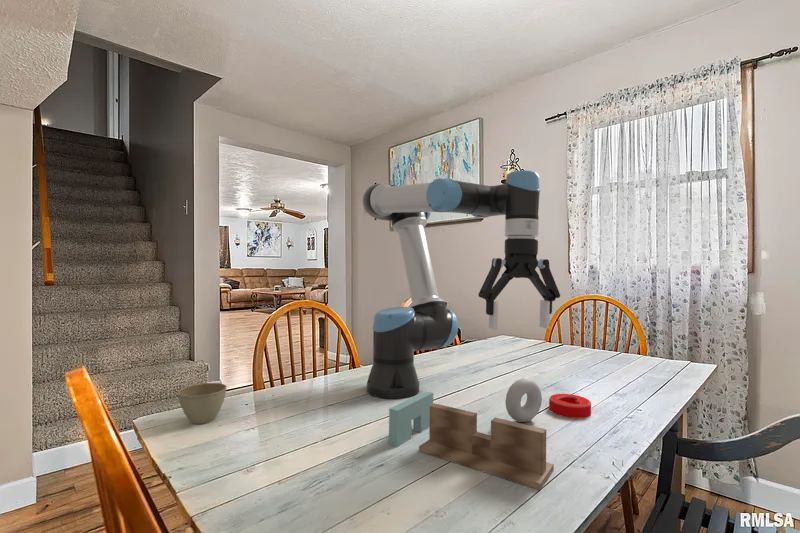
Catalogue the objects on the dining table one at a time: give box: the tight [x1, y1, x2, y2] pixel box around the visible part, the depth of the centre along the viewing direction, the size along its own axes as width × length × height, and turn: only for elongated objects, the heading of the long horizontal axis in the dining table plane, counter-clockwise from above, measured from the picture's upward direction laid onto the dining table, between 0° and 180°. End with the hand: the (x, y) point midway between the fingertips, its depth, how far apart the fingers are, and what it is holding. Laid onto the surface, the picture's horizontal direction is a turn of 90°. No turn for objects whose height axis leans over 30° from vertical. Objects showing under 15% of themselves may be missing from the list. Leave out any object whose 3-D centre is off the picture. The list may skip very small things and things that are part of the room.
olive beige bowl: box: [177, 382, 227, 425], centre depth 93 cm, size 10×10×7 cm
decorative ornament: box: [548, 393, 592, 419], centre depth 101 cm, size 10×10×3 cm
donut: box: [505, 377, 543, 423], centre depth 94 cm, size 10×3×10 cm, turn 117°
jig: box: [418, 402, 555, 491], centre depth 75 cm, size 23×8×8 cm, turn 55°
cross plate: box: [388, 390, 434, 448], centre depth 86 cm, size 14×2×7 cm, turn 145°
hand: (519, 328), depth 96 cm, fingers open, 13 cm apart
